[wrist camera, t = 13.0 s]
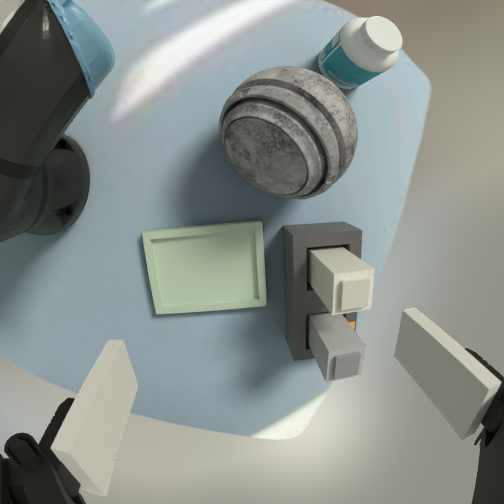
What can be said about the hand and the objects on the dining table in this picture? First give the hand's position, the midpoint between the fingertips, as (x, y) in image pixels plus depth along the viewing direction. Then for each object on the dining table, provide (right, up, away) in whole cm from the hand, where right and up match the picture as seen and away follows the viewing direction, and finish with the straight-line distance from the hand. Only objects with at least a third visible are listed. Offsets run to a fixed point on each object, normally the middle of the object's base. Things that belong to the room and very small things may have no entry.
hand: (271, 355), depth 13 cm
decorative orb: (+3, +20, +25) cm, 32 cm away
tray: (-7, +2, +29) cm, 30 cm away
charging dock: (+8, 0, +31) cm, 32 cm away
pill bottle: (+12, +31, +23) cm, 40 cm away
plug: (+9, -5, +30) cm, 32 cm away
